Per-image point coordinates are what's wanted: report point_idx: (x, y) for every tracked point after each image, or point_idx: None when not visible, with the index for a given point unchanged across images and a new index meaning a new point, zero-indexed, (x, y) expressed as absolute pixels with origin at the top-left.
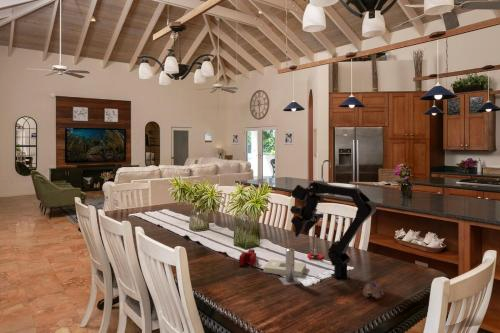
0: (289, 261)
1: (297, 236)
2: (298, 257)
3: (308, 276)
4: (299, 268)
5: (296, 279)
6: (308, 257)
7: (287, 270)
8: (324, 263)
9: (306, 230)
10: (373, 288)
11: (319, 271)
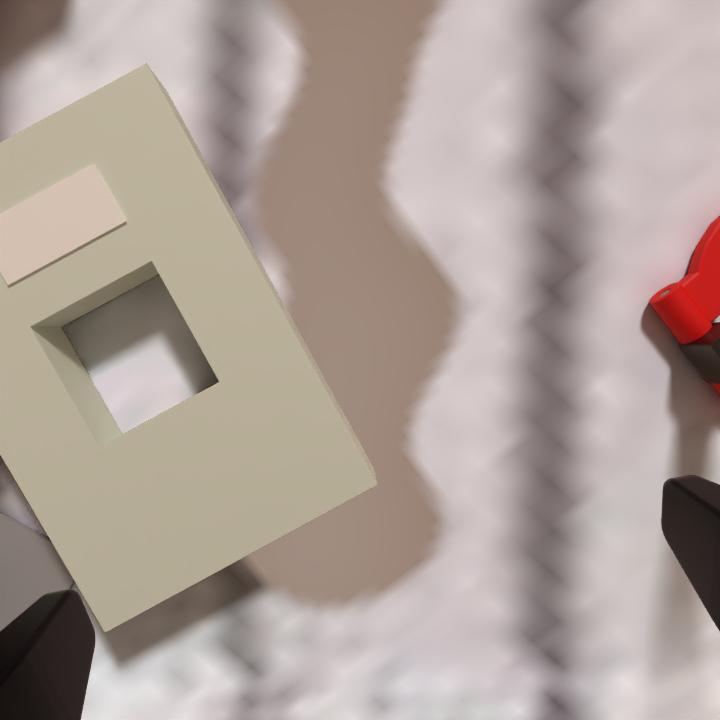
0: None
1: (73, 666)
2: (616, 157)
3: (205, 639)
4: (176, 547)
5: None
6: (693, 255)
7: None
8: None
9: (715, 574)
10: None
11: (410, 626)
